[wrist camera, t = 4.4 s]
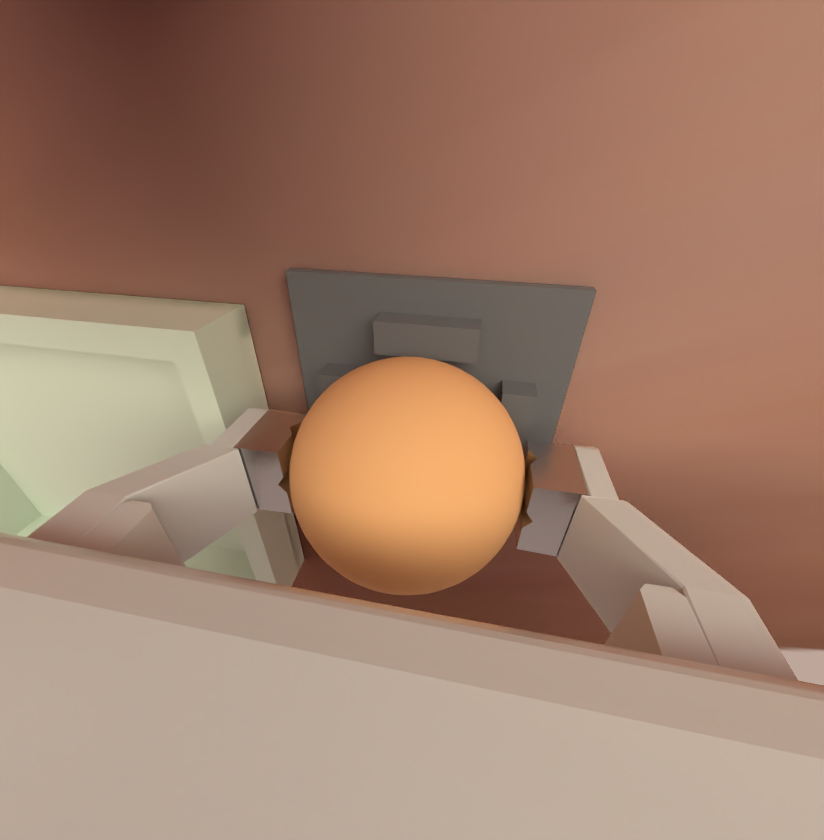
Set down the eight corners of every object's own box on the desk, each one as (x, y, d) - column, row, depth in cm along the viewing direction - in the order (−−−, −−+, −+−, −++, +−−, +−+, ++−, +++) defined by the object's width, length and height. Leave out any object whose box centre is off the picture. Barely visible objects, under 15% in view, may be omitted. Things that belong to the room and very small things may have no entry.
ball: (537, 332, 8) (576, 481, 4) (502, 489, 11) (506, 670, 7) (330, 314, 9) (196, 428, 5) (346, 467, 12) (268, 618, 8)
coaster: (593, 287, 8) (605, 300, 7) (529, 509, 12) (531, 533, 11) (290, 267, 9) (270, 277, 8) (324, 479, 13) (312, 500, 12)
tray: (243, 304, 10) (193, 331, 8) (304, 559, 16) (283, 604, 14) (-141, 274, 11) (-245, 291, 10) (49, 514, 18) (4, 549, 16)
